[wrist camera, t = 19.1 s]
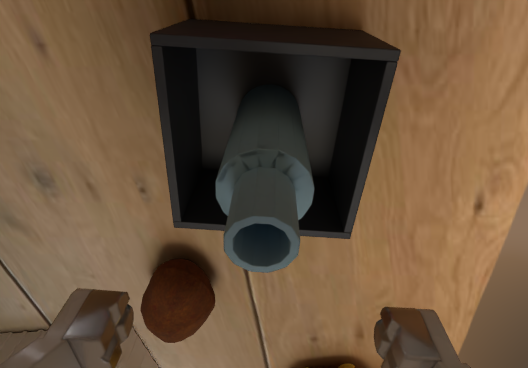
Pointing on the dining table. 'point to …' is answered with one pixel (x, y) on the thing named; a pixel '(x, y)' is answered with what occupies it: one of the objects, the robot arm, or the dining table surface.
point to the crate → (281, 74)
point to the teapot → (344, 366)
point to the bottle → (265, 181)
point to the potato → (177, 300)
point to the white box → (7, 344)
